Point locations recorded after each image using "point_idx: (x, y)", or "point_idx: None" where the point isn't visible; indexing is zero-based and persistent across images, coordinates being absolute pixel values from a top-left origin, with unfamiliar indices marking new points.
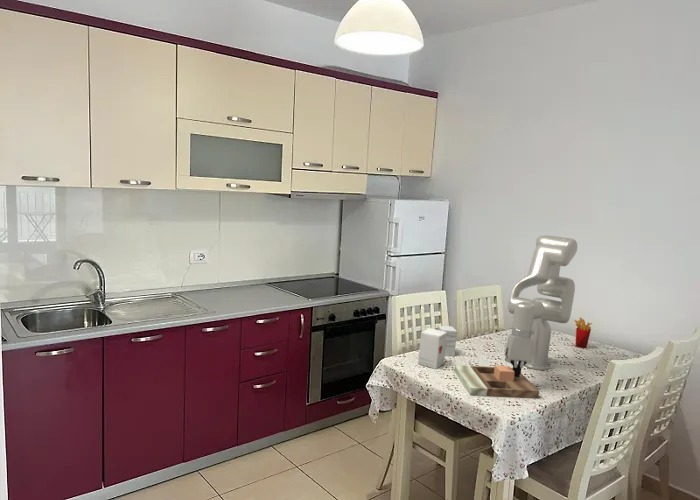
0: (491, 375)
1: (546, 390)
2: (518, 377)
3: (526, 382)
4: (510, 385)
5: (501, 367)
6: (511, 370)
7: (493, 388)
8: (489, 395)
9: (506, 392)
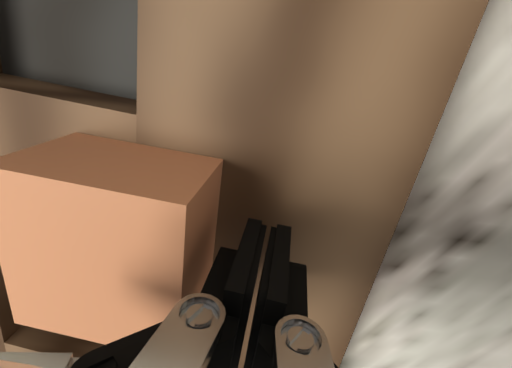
0: None
1: (477, 312)
2: (312, 220)
3: (315, 321)
4: None
5: (55, 237)
6: None
7: (13, 351)
8: None
9: None
